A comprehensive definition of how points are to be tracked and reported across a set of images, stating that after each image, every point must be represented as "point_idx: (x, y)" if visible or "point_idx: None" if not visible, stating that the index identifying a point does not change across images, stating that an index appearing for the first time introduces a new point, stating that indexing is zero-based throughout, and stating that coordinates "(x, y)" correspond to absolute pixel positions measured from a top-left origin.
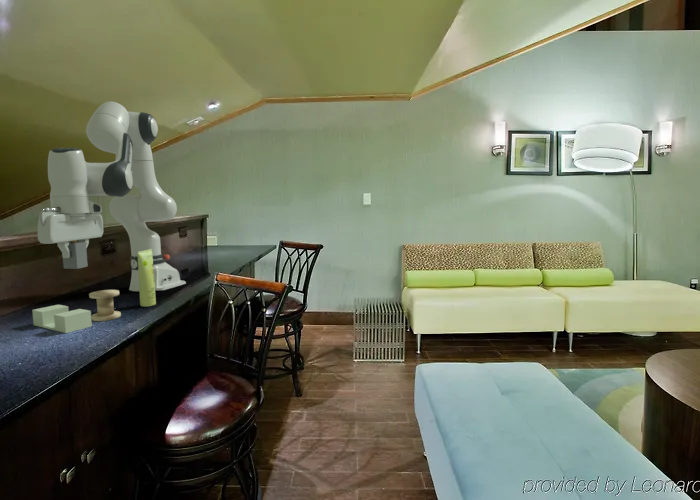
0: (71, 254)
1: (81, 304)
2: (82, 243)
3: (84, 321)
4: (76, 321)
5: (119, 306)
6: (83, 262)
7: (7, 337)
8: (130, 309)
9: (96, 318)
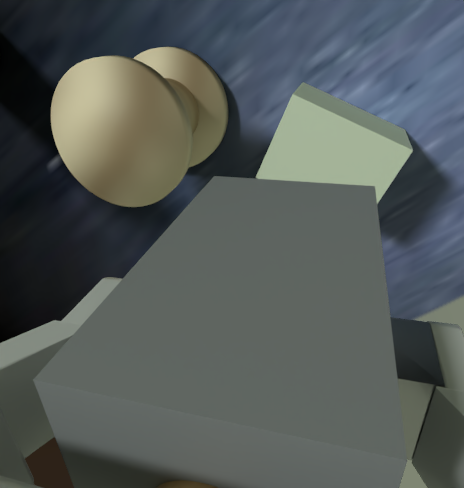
0: (395, 338)
1: (57, 302)
2: (145, 384)
3: (328, 101)
4: (362, 118)
5: (32, 161)
6: (262, 200)
7: (433, 305)
8: (50, 83)
9: (225, 116)
